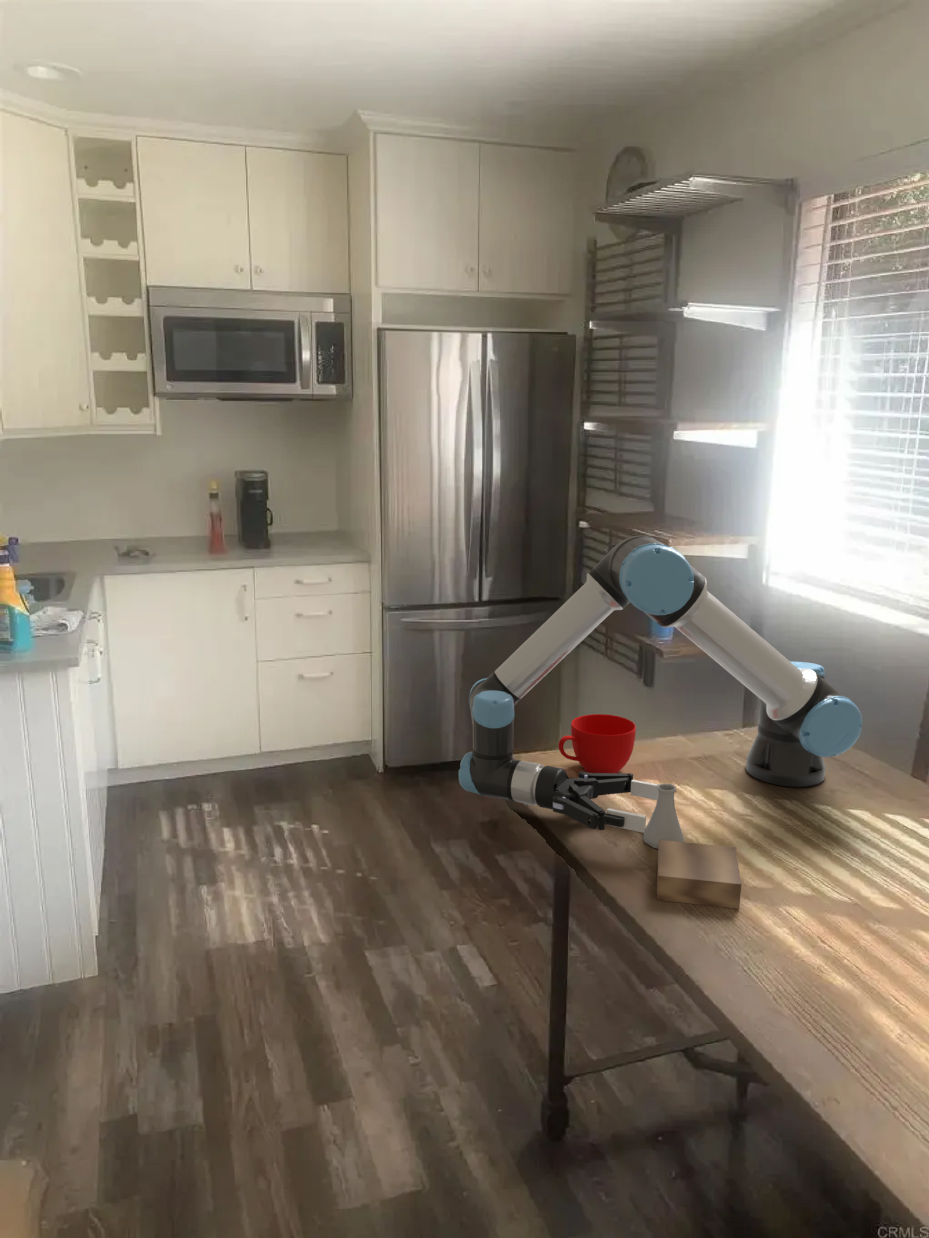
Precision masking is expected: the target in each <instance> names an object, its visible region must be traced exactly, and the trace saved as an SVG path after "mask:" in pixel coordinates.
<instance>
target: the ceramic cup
mask: <svg viewBox="0 0 929 1238" xmlns="http://www.w3.org/2000/svg"><path fill="white" fill-rule="evenodd" d="M570 724H571V725H570V729H571V731H570V733H571V735H563V736H562V737H561V738H560V740H559V742H558V751H559V753H560V754H561V755H562V756H563V758H565V759H568V760H570V761H574V762H575V761H576V762H579V764H580V766H581V767H582V768H583V769H584V770H585V772H587V773H620V771H621V770H622V769H623V768H624V767H625V766H626V765H627V763H628V762H629V760H630V758H631V756H632V753H633V750H634V746H635V741H636V740H635V739H636V730H637V729H636V728H637V727H636V723H634V721H632V720H630V719H628V718H626V717H623V716H619V715H613V714H604V713H603V714H602V713H599V714H597V713H594V714H592V713H591V714H585V715H581V716H578V717H575V718H574V719H573V720H571V723H570ZM569 740H570V741H571V744H572V748H573V753H574V755H575V756H573V755H569V754H567V753H566V752H565V749H564V746H565V745H564V744H565V742H566V741H569Z"/></svg>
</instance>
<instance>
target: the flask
mask: <svg viewBox="0 0 929 1238" xmlns="http://www.w3.org/2000/svg"><path fill="white" fill-rule="evenodd" d="M657 784H658V783H657ZM657 788H658V791H659V795H658V800H656V804H655V807H654V810H653V812H652V814H651V816H650V819H648V822H647V823H646V828H645V832H644V833H642V836H643V842H644V843H645V844H647V845H648V846H651V847H652V848H653V849H657V850H658V843H659V840H667V841H677V842H685V837H684V834H683V831H682V828H681V824H680V822H679V818H678V815H677V811H676V805H675V793H676V792H677V787H676V785H674V784H672V783H667V782H666V783H664V782H663V783H660V784H658V785H657Z"/></svg>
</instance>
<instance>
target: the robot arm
mask: <svg viewBox="0 0 929 1238" xmlns="http://www.w3.org/2000/svg"><path fill="white" fill-rule="evenodd" d="M707 583H708V582H707V578H706V577H705V576H704V575H703V574H702V573H701V572H699V571H698V569H696V568H695V567H693V565H691V564H690V563H689V561H688V560H687V558H686V557H685V556H684V554H682V553H681V552H680V551H679V550H677V549H675V548H674V547H671V546H669V545H667V544H665V543H663V542H661V541H660V540H658V539H656V538H654V537H653V536H648V535H634V536H630V537H628V538H626V539H623V540H622V541H620V542H619V543H617V544H616V545H615V546H614V547H613V548H612V549H611V550H609V552H608V553H607V554H606V555H604V557H602V559H600V561H599V562H598V563H597V564H596V565H594V567H592V568H591V569H590V571H589V572H588V573H587V574H586V582H585V583H584V584H583V585H582V586H581V587H580V588H579V589H578V590H577V591H576V592H574V593H573V594H572V596H570V597H569V598H568V599H567V600H566V601H565V602H564V603H563V604H562V605H561V606H560V607H559V608H558V609H557V610H556V611H555V612H554V613H553V614H552V615H551V616H550V617H549V618H548V619H546V621H545V622H543V624H541V625H540V627H539V628H537V629H536V630H535V631H534V633H532V634H531V635H530V637H528V638H527V640H525V641H524V642H523V643H522V644H521V645H520V646H518V648H517V649H516V650H515V651H514V652H512V654H510V655H509V657H508V658H507V659H506V660H504V662H503V663H502V664H501V665H499V667H497V668H496V669H495V670H494V671H493V672H492V673H491V674H489V676H488V677H486V678H485V677H484V678H482V679H479V680H478V681H476V682H475V683H474V684H473V685H472V687H471V689H470V691H469V695H468V706H469V709H470V716H471V723H472V751H469V752H466V753H465V754H464V755H463V757H462V759H461V761H460V764H459V766H460V768H459V769H458V782H459V785H460V786H461V788H462V789H463V790H465V791H467V792H470V793H474V794H477V795H480V796H482V797H491V798H497V799H503V800H505V801H506V800H507V801H511V802H516V803H521V804H523V805H524V806H529V805H531V806H538V807H539V808H543V809H546V810H547V809H548V810H551V811H552V812H554V813H556V814H560V815H564V816H566V817H568V818H570V819H571V820H573V821H575V822H578V823H579V824H581V825H583V826H585V827H587V828H590V830H598V831H604V830H605V826H610V827H614V828H619V829H624V830H629V831H633V832H638V833H641V834H643V833H644V832H645V828H646V826H647V815H645V814H644V815H643V814H638V813H634V812H628V811H624V810H619V809H614V808H611V807H608V808H607V809H606V810H605V809H604V808H602V807H601V806H600V805H598V804H597V803H595V802H594V801H593V800H594V799H597V798H598V797H599V796H607V795H617V794H627V793H630V796H634V797H640V798H644V799H649V800H654V801H657V800H658V795H659V791H658V788H657V785H658V783H652V782H647V781H643V780H636V779H634V774H633V773H629V772H628V773H623V772H622V773H621V772H618V773H587V772H586V771H579V772H578V775H577V778H574V777H573V778H570V777H569V775H568V773H567V770H565V769H564V768H562V767H559V766H552V765H545V766H544V764H542V763H538V762H531V761H526V760H520V759H516V758H514V731H515V730H514V727H515V726H514V723H515V722H514V720H515V717H516V712H515V705H517V703H518V702H520V700H521V699H522V698H523V697H524V696H525V695H527V694H528V693H529V691H531V690H532V689H533V688H534V687H535V686H536V685H537V684H539V682H540V681H541V680H543V678H544V677H546V676H547V675H548V674H549V672H551V671H552V670H553V669H554V668H555V667H556V666H557V665H558V664H559V663H560V662H561V661H562V660H564V659H565V657H567V655H568V654H570V653H571V652H572V651H573V650H574V649H575V648H576V647H577V646H578V645H579V644H580V643H581V642H583V641H584V640H585V639H586V637H588V636H589V635H590V634H591V633H592V632H593V631H594V630H595V629H596V628H597V627H598V626H599V625H600V624H601V623H602V622H603V621H604V620H606V618H607V617H609V616H610V615H611V614H612V613H613V612H614V611H622V610H623V609H625V608H626V607H627V606H628V605H629V604H631V605H632V606H634V607H635V608H636V609H637V610H639V611H642V612H643V613H644V614H646V616H648V617H649V618H650V619H651V620H653V622H655V623H656V624H657V625H659V626H660V627H662V628H673V627H674V628H675V629H677V630H678V631H679V632H680V633H681V634H683V635H684V636H685V637H686V638H687V639H688V640H689V641H691V642H692V643H693V644H694V645H696V646H697V648H699V649H700V650H701V651H703V652H704V653H705V654H706V655H708V656H709V657H710V658H711V659H712V660H714V661H715V662H716V663H717V664H718V665H720V666H721V667H722V668H723V669H724V670H725V671H727V673H729V674H730V675H732V677H734V678H735V679H736V680H737V681H738V682H740V683H741V684H742V685H743V686H744V687H746V688H747V689H748V690H749V691H750V692H752V694H754V695H755V696H756V697H757V698H759V709H758V710H759V711H758V724H757V725H758V726H757V734H756V736H755V738H754V740H753V743H752V744H751V747H750V750H749V751H748V754H747V757H746V762H745V764H746V765H745V770H746V772H747V773H748V774H749V775H750V776H752V777H753V778H754V779H757V780H760V781H761V782H765V783H768V784H772V785H776V786H782V787H788V788H790V787H791V788H805V787H812V786H816V785H819V784H821V783H822V782H824V780H825V774H826V765H825V761H824V758H830V757H837V756H839V755H841V754H844V753H845V752H847V751H848V750H850V749H851V748H852V747H853V746H854V745H855V744H856V742H857V741H858V739H859V737H860V736H861V733H862V729H863V716H862V712H861V711H860V709H859V707H858V706H857V705H856V703H855V702H854V701H853V700H852V699H850V697H846V696H844V694H842V693H841V692H839V691H838V690H837V689H835V687H833V686H832V685H831V684H830V683H829V682H828V681H826V680H825V679H826V673H825V671H826V670H825V668H824V667H823V666H822V665H820V664H819V663H818V664H817V663H812V662H806V661H805V662H804V661H792V660H791V661H790V660H789V659H787V658H786V657H785V656H784V655H783V654H782V653H780V651H778V650H777V649H776V648H775V647H774V646H772V645H771V644H770V643H769V642H768V641H766V640H765V639H764V638H763V637H762V636H761V635H760V634H759V633H757V632H756V631H755V630H754V629H753V628H751V627H750V625H748V624H747V623H745V621H744V620H743V619H741V618H739V617H738V616H737V614H735V613H734V612H733V611H732V610H730V609H729V608H728V607H727V606H726V605H724V604H723V602H721V601H720V600H719V599H717V597H715V596H714V595H713V594H712V593H711V592H709V591H708V584H707Z"/></svg>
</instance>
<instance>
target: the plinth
mask: <svg viewBox="0 0 929 1238" xmlns="http://www.w3.org/2000/svg"><path fill="white" fill-rule="evenodd" d="M738 861H739V860H738V856H737V849H736V846H730V845H729V846H726V845H717V844H705V843H698V842H688V841H687V842H686V841H684V842H677V841H667V840H659V843H658V849H657V861H656V863H657V864H656V865H657V866H656V868H657V871H656V875H657V876H656V878H657V879H656V883H657V884H656V901H666V902H675V903H682V904H692V905H693V904H694V905H702V906H710V907H717V908H720V907H721V908H730V909H737V910H739V909H740V906H741V894H742V893H741V892H742V880H741V875H740V867H739V862H738Z"/></svg>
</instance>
